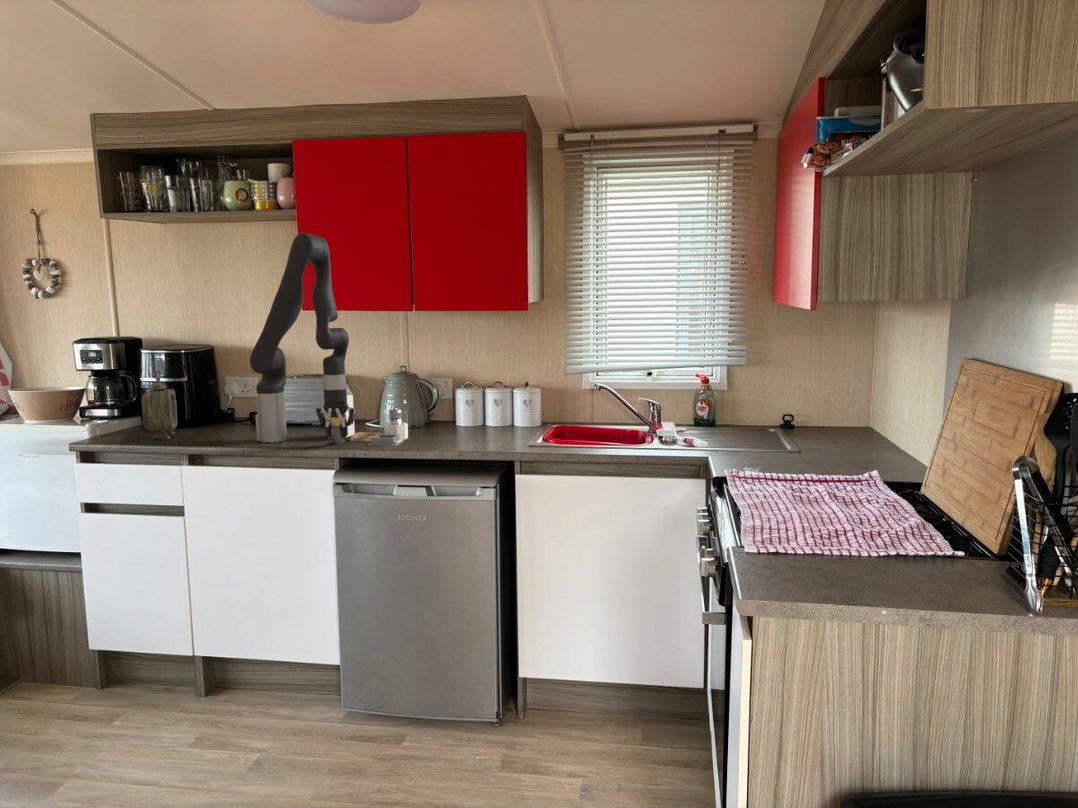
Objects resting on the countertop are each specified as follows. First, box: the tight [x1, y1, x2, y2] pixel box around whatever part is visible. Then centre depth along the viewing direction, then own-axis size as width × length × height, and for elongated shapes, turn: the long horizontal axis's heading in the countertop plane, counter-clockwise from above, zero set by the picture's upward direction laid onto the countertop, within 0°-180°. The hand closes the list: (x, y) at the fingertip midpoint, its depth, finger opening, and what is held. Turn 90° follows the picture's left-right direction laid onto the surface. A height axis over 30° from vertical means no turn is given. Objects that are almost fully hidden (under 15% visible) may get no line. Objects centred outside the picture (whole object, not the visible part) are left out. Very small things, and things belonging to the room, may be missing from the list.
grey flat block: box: [366, 433, 405, 447], centre depth 265 cm, size 10×9×3 cm
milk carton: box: [327, 384, 356, 440], centre depth 280 cm, size 7×7×19 cm
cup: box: [383, 421, 409, 441], centre depth 274 cm, size 7×7×6 cm
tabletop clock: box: [141, 369, 178, 440], centre depth 282 cm, size 14×9×25 cm, turn 16°
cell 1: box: [330, 417, 345, 446], centre depth 265 cm, size 4×4×11 cm
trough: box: [349, 432, 383, 442], centre depth 272 cm, size 9×7×2 cm
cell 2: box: [388, 407, 403, 426], centre depth 273 cm, size 4×4×11 cm
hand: (337, 437), depth 265 cm, fingers closed on cell 1, 4 cm apart
